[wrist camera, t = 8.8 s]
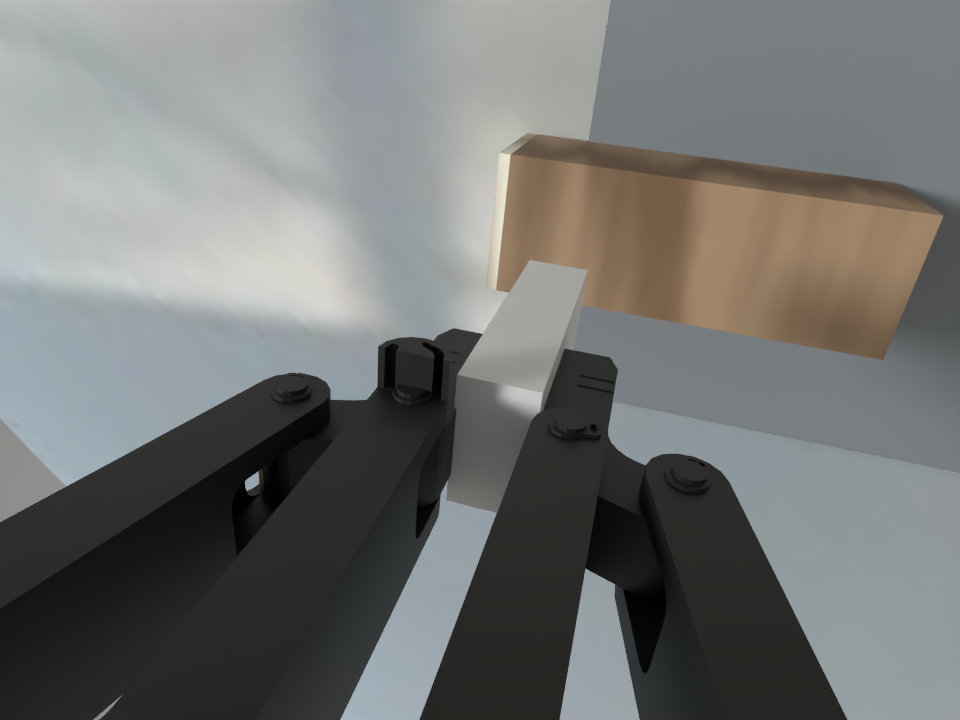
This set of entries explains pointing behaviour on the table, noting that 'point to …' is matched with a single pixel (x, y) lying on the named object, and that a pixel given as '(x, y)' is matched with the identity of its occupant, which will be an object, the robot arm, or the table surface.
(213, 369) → the table surface
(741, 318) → the walnut block
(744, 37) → the mat
